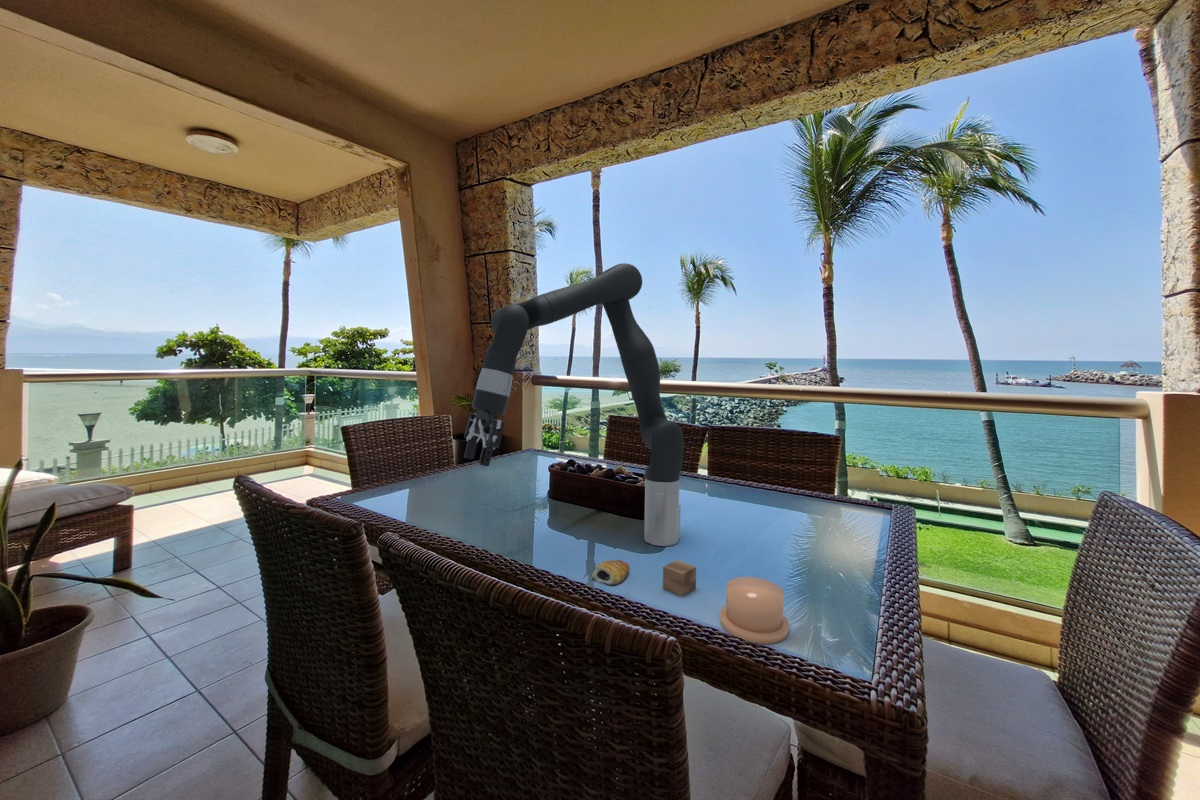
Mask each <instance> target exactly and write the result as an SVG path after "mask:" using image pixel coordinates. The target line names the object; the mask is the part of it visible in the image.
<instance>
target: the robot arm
mask: <svg viewBox="0 0 1200 800" xmlns="http://www.w3.org/2000/svg"><path fill="white" fill-rule="evenodd" d="M642 285H643V277H642V274H641V272H640V270H639V269H638V268H637V267H636V266H635V265H633V264H631V263H626V262H625V263H619V264H616V265H614V266H612V267H609V268H608V269H606V270H604V271H602V272H601V274H599V275H598V276H596V277H593V278H590V279H588V280H585V281H582V282H579V283H575V284H572V285H568V286H565V287H561V288H559V289H554V290H551V291H548V292H545V293H542V294H539V295H536V296H534V297H532V298H530V299H528V300H525V301H521V302H518V303H513V304H508V305H504V306H502V307H500V308H498V309H497V310H495V311H494V312H493V313H492V316H491V318H490V326H491V329H492V331H493V332H494V335H493V340H492V342H491V344H490V345H489V346H488V347H487V349H486V351H485V355H484V359H483V361H482V362H483V363H482V368H481V370H480V373H479V376H478V379H477V383H476V387H475V391H474V395H473V400H472V404H471V408H472V409H474V410H477V411H476V412H475V413H474V412H470V413H469V416H468V420H467V424H466V427H465V430H464V434H463V437H464V438H465V440H466V442H467V443H466V446H465V451H464V454H463V457H464V458H465V459H469V460H474V458H475V457H476V456H475V455H476V451H477V447H478V443H479V441H480V439H481V441H482V449H481V452H480V456H479V460H478V465H480V466H483V467H489V466H490V463H491V459H492V455H493V451H494V450H495V449H496V448H497V449H499V448H500V446H501V443H502V441H501V440H502V438H503V437H502V436H503V433H504V426H505V420H503V419H498V418H499V415H500V416H504V415H505V414H506V412H507V406H508V402H509V398H510V394H511V391H512V385H513V384H512V383H513V378H514V377H513V375H514V372H515V368H516V365H517V359H518V355H519V353H520V351H521V349H522V346H523V344H524V341H525V339H526V336H527V334H528V331H529V330H531V329H535V328H537V327H542V326H547V325H550V324H553V323H555V322H558V321H561V320H564V319H567V318H569V317H571V316H573V315H575V314H578V313H580V312H583V311H585V310H588V309H590V308H592V307H594V306H597V305H600V304H602V306H603V310H604V311H605V314H606V317H607V318H608V321H609V324H610V327H611V330H612V333H613V337H614V339H615V344H616V346H617V349H618V353H619V356H620V360H621V361H620V362H621V364H622V368H623V371H624V374H625V377H626V380H627V383H628V387H629V390H630V393H631V396H632V399H633V402H634V405H635V408H636V413H637V418H638V423H639V429H640V433H641V434H640V435H641V439H642V442H643V444H644V445H645V446H646V448H647V449H649V450H650V461H649V465H648V466H647V467H646V468H645V472H644V473H645V475H644V477H645V478H644V528H643V529H644V535H643V537H644V538H643V539H644V541H645V542H646V543H648V544H650V545H652V546H659V547H670V546H674V545H676V544H678V542H679V540H680V539H681V505H680V474H681V472H682V469H683V465H684V464H683V462H684V461H683V460H684V445H685V444H684V443H685V441H684V440H685V439H684V434H683V433H684V432H683V430H682V428H681V426H680V425H679V424H677V423H675V422H674V421H670V420H668V418H667V416H666V414H665V410H664V407H663V405H662V399H661V394H660V393H661V389H660V388H661V371H660V364H659V362H658V357H657V354H656V351H655V347H654V346H653V344H652V342H651V339H649V337H648V336H647V335H646V333H645V332H644V331H643V329H642V328H641V326H640V325H639V324H638V322H637V320H636V319H635V316H634V314H633V310H632V307H631V303H630V300H632V299H633V298H635V297H636V296H637V295H638V294H639V293H640V291H641V289H642Z"/></svg>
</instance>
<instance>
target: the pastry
mask: <svg viewBox="0 0 1200 800" xmlns="http://www.w3.org/2000/svg"><path fill="white" fill-rule="evenodd" d="M629 565H630V564H629V563H628V562H624V561H623V560H620V559H618V560H615V559H614V560H612V559H611V560H604V561H602V563H598V564H597V565H596V566H595V567H596V568H594V571H593V572H592V574H591V576H592V578H593V580H594V581H596V582H598V583H602V584H607V585H618V584H620V583H621V582H624V581H625V579H626V578H627V577H628V575H629V573H630V566H629Z"/></svg>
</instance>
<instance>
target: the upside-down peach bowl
mask: <svg viewBox="0 0 1200 800" xmlns="http://www.w3.org/2000/svg"><path fill="white" fill-rule="evenodd" d="M725 598H726V603H725V604H726V605H724V606H723V607H722V608H721V610H720V613H719V614H720V615H719V616H720V617H719V618H720V625H721V627H722V628H723V629H724V631H725V632H726V633H728V634H729V635H730V636H732V635H733V637H734V636H735V637H734V638H736V637H738V638H741V639H743V640H745V642H747V641H749V642H748V643H750V642H752V643H751V644H756V643H758V644H757V645H774V644H777V643H780V642H783V641H784V640H786V638H788V636H789V633H790V631H789V629H790V624H789V620H788V618H787V617H786V616H785V615H784V607H785V606H784V605H785V591H784V589H783V588H782V587H781V586H779V585H778V584H776V583H775V582H772V581H771V580H768V579H764V578H760V577H753V576H739V577H735V578H731V579H730V580H729V581H727V583H726V597H725ZM738 638H737V639H738ZM741 639H740V640H741ZM743 640H742V641H743Z"/></svg>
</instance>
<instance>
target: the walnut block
mask: <svg viewBox="0 0 1200 800" xmlns="http://www.w3.org/2000/svg"><path fill="white" fill-rule="evenodd" d="M696 587H697V566H695V565H692V564H690V563H687V562H683V561H681V560H678V559H677V560H674V561H672V562H669V563H668V564H666V565H664V566H662V590H664V591H667V592H669V593H672V594H674V595H676V596H679V597H681V598H683V597H685V596H686V595H689V594H690V593H692V592H693V591H695V590H696Z"/></svg>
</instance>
